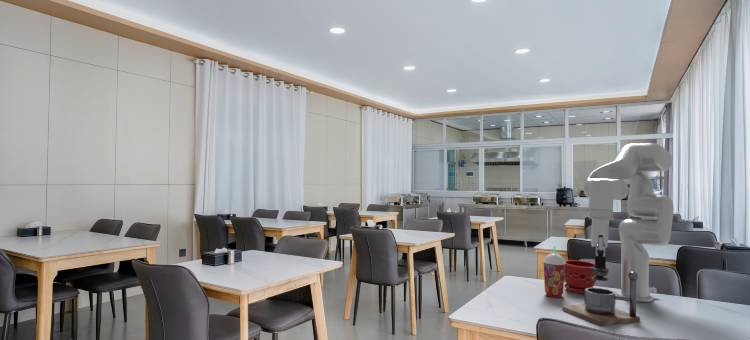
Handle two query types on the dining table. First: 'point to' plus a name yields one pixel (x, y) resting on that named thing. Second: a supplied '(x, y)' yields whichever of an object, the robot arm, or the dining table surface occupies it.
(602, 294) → the cup bracket
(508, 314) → the dining table surface
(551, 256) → the smoothie
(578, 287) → the plant pot
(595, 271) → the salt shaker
